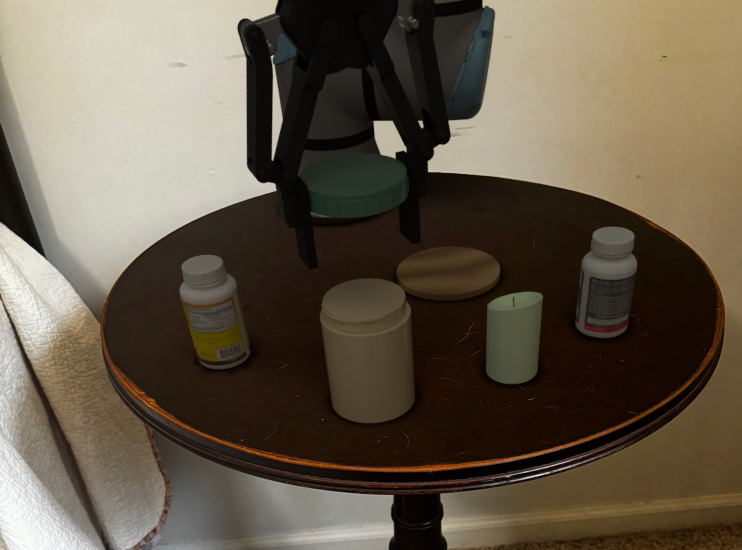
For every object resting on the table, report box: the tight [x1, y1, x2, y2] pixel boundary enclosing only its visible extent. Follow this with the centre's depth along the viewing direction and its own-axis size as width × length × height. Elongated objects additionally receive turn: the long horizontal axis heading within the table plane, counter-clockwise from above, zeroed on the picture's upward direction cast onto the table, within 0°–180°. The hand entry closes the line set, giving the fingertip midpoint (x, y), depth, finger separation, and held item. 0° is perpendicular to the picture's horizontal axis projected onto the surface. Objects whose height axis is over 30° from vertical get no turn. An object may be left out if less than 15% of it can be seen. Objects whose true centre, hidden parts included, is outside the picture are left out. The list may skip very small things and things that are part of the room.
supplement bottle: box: [179, 254, 252, 370], centre depth 79 cm, size 6×6×10 cm
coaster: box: [396, 246, 501, 302], centre depth 93 cm, size 12×12×1 cm
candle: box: [485, 291, 544, 385], centre depth 75 cm, size 5×5×8 cm
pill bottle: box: [575, 226, 638, 339], centre depth 80 cm, size 5×5×10 cm
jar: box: [319, 277, 416, 424], centre depth 72 cm, size 8×8×10 cm
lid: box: [299, 153, 409, 218], centre depth 62 cm, size 8×8×2 cm
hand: (360, 249), depth 66 cm, fingers closed on lid, 8 cm apart
